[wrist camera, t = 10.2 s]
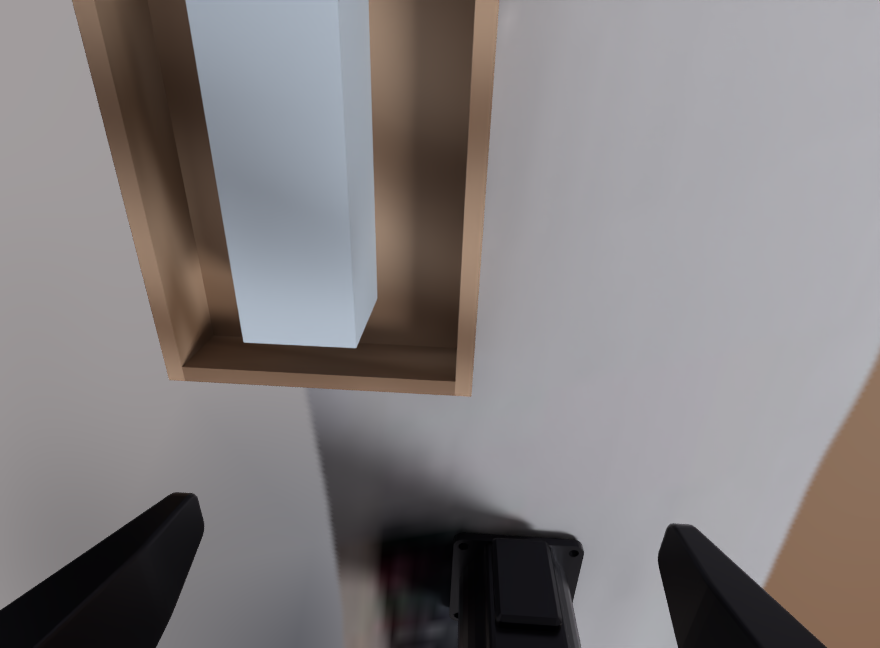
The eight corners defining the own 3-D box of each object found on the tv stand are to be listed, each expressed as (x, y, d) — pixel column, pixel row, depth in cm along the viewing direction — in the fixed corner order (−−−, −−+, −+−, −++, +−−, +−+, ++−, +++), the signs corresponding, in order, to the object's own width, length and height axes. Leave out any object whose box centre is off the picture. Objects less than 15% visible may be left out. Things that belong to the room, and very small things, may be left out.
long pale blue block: (377, 298, 19) (356, 348, 15) (285, 293, 19) (243, 342, 15) (363, -155, 13) (324, -246, 9) (231, -157, 13) (143, -247, 10)
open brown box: (470, 356, 20) (471, 396, 18) (206, 342, 21) (169, 380, 18) (509, -216, 13) (519, -294, 10) (89, -222, 13) (-5, -298, 10)
